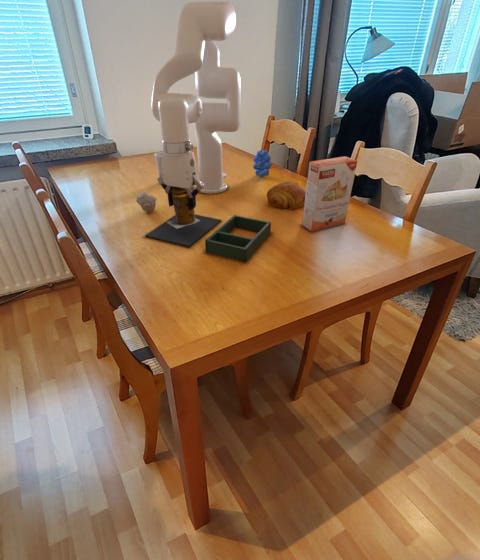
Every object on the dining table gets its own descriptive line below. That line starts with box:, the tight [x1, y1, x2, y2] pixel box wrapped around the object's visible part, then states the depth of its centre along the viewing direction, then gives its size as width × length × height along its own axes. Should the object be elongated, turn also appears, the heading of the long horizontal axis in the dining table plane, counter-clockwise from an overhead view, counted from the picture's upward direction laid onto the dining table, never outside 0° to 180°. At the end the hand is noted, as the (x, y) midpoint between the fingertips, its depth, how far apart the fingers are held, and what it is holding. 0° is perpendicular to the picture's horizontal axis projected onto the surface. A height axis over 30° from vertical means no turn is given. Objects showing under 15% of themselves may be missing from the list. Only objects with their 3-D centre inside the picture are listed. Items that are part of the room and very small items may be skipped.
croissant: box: [266, 181, 306, 210], centre depth 130 cm, size 14×16×8 cm
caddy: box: [204, 214, 272, 263], centre depth 105 cm, size 19×13×4 cm, turn 155°
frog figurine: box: [135, 192, 157, 213], centre depth 123 cm, size 6×7×7 cm
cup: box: [154, 151, 163, 178], centre depth 147 cm, size 8×8×12 cm
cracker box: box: [301, 156, 358, 232], centre depth 111 cm, size 14×6×21 cm, turn 117°
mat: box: [144, 214, 222, 249], centre depth 114 cm, size 20×16×1 cm
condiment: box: [167, 186, 201, 229], centre depth 109 cm, size 7×8×12 cm
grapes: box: [252, 149, 273, 179], centre depth 153 cm, size 12×7×12 cm, turn 34°
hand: (182, 206), depth 110 cm, fingers closed on condiment, 6 cm apart
